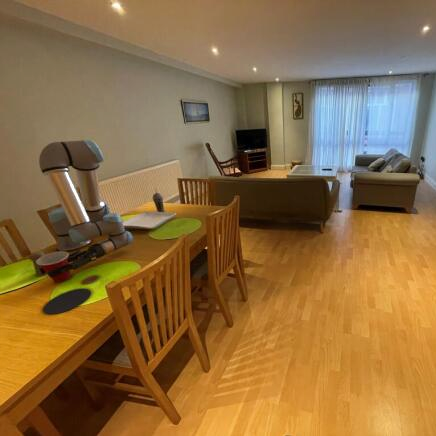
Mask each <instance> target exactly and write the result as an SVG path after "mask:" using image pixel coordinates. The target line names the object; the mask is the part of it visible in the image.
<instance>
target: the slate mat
mask: <svg viewBox="0 0 436 436" xmlns="http://www.w3.org/2000/svg"><path fill="white" fill-rule="evenodd" d="M91 295H92V291H91V290H90V289H89V288H75V289H70V290H68V291H66V292H63V293H60V294H59V295H56V296H55V297H53V298H51V299H50V300H49V301H48V302H47V303H45V304H44V306H43V309H42V311H43V313H44V314H47V315H59V314H62V313H65V312H68V311H71V310H73V309H76V308H77V307H79V306H81V305H82V304H84V303H85V302H86V301H87V300H89V298H90V297H91Z"/></svg>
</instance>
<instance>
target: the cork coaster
mask: <svg viewBox="0 0 436 436" xmlns="http://www.w3.org/2000/svg"><path fill="white" fill-rule="evenodd" d="M98 279H99V275H90V276H87V277H85V278H84V279H82V281H81V283H82V284H83V285H88V284H91V283H94V282H96V281H97V280H98Z"/></svg>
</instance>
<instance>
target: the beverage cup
mask: <svg viewBox="0 0 436 436" xmlns="http://www.w3.org/2000/svg"><path fill="white" fill-rule="evenodd" d="M154 188H155V193H154V194H153V195H152V201H153V203H154V205H155V208H156V212H165V207H164V197H163V195H162V194H161V193H158V191H157V187H154Z"/></svg>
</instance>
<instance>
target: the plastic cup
mask: <svg viewBox="0 0 436 436" xmlns="http://www.w3.org/2000/svg"><path fill="white" fill-rule="evenodd" d="M69 254H70V253H69V251H66V252H64V251H53V252H50V253H46V254H45V255H44V256H42V257H40V258H39V259H38V260H37V261H36V263H37V264H38V265H40V266H41V267H42V268H43V269H44V271H45V272H46V273H47V274H46V275H47V276H49V274H48V272H50V271H52V270H55V269H57V268H59V267H61V266H64V265H67V264H68V256H69ZM58 260H59V261H58ZM70 278H71V270H68V271H65V272H63V273H61V274H59V275H57V276H54V277H52V278H51V280H52V281H53V282H54V283H62V282H65V281H67V280H69V279H70Z"/></svg>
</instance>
